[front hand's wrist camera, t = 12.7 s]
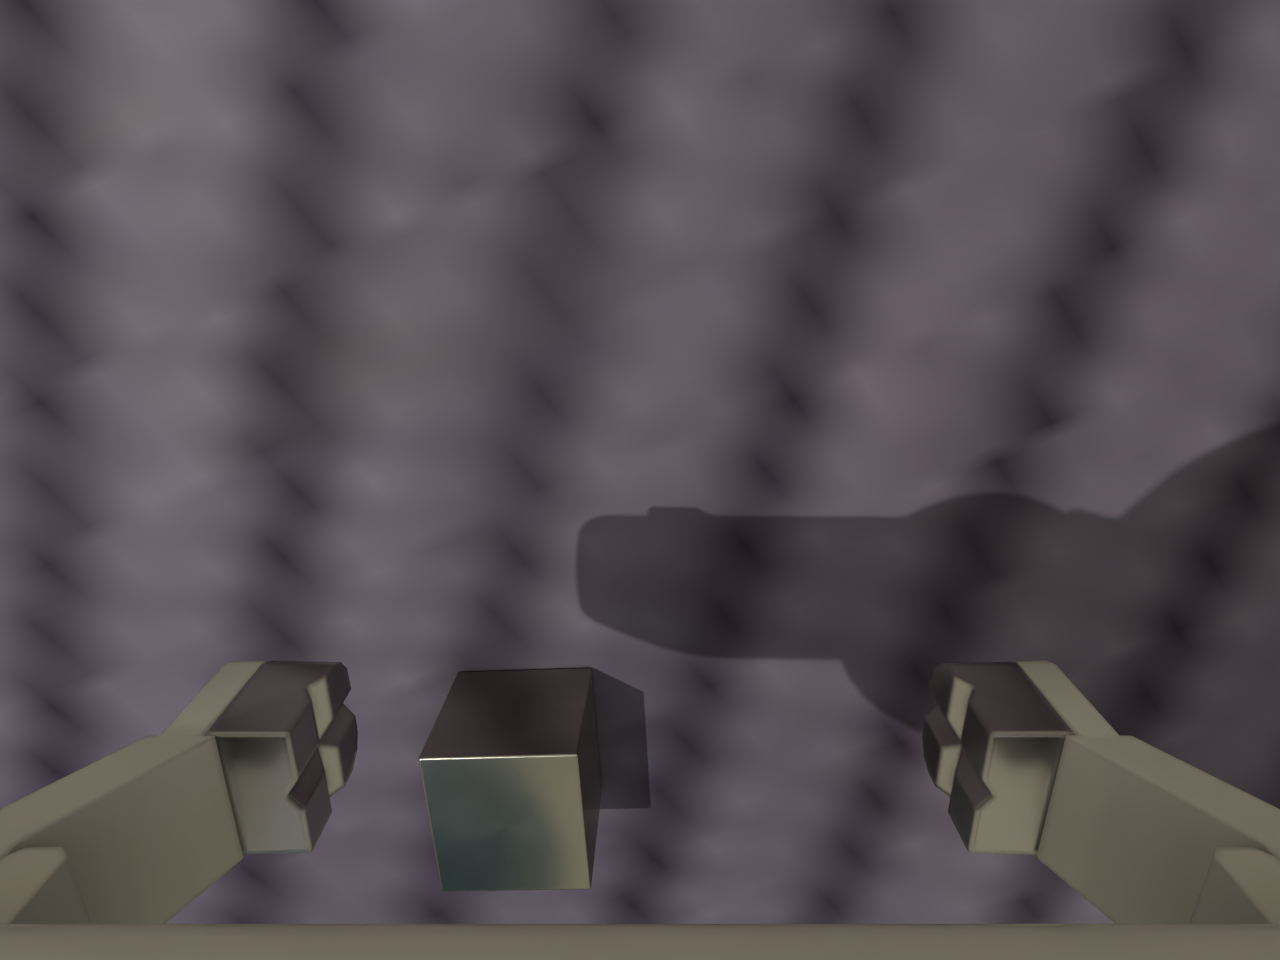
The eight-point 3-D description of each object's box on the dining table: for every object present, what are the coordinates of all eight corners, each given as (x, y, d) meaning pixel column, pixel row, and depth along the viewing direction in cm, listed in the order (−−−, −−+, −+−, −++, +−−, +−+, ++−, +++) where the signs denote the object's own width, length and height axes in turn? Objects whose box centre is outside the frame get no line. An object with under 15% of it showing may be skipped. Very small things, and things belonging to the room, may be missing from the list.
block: (457, 671, 26) (417, 758, 22) (591, 666, 26) (577, 754, 21) (475, 789, 27) (441, 893, 23) (602, 786, 27) (590, 890, 23)
